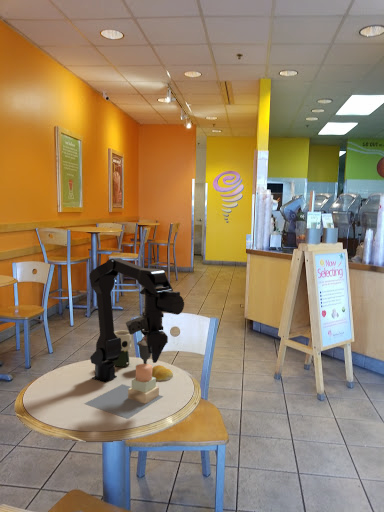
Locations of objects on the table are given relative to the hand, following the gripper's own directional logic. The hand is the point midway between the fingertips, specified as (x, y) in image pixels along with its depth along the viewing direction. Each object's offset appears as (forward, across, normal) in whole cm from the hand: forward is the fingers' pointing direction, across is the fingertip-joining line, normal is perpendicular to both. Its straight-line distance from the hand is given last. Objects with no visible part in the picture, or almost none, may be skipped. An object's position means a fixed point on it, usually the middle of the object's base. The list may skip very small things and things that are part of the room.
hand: (152, 357), depth 129 cm
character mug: (+13, -31, -7) cm, 35 cm away
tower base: (+13, 0, -2) cm, 13 cm away
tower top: (+10, 0, -2) cm, 10 cm away
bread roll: (+14, -17, +6) cm, 22 cm away
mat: (+13, +1, -8) cm, 16 cm away
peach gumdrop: (+7, 0, -3) cm, 7 cm away
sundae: (+13, -26, +1) cm, 29 cm away
